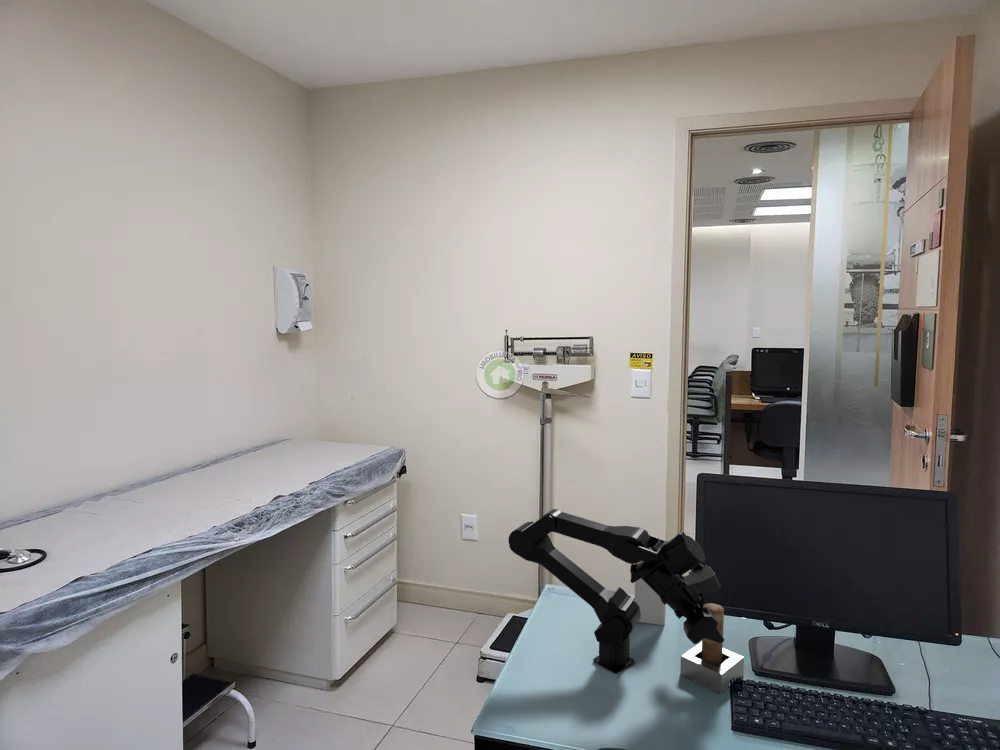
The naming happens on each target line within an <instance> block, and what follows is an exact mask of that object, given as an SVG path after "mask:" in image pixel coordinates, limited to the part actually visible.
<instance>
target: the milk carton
mask: <svg viewBox="0 0 1000 750" xmlns="http://www.w3.org/2000/svg"><path fill="white" fill-rule="evenodd" d="M650 550H651V549H650ZM641 562H642V561H640V562H638V563H636V564H639V563H641ZM634 598H635V600H634V601H635V602H636V603H637V604H638V605H639V607H640V612H641V618H640V620H639V622H638V623H644V624H651V625H658V626H659V625H660V626H665V625H666V624H665V623H666V613H667V604H666V605H665V604H664V603H663V602H662V601H661V599H660V597H659V596H658V595H657V594H656V593H655V592H654V591H653V590H652V589H651V588H650V587H649V586H648V585H647V584H646V583H645V582H644V581H643V580H642V579H639V580H637V581H636V582H634Z"/></svg>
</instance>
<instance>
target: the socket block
mask: <svg viewBox="0 0 1000 750" xmlns="http://www.w3.org/2000/svg"><path fill="white" fill-rule="evenodd" d="M701 658H702V641H700V642H699V643H698V644H695V646H693V647H692V648H690V649H688V650H687V651H686V652H685V653H683V654H682V655H680V672H679V673H680V675H681V676H683V677H685V678H687V679H690V680H691V681H694V682H695V683H698V684H699V685H702V686H704V687H706V688H708V689H710V690H711V691H715V692H716V693H718V694H721V695H722V694H723V693H724V692H725V691H727V690H728V689H729V688H730V687H729V683H730V680H731V679H732V678H740V679H741V678H743V676H744V669H745V667H744V666H745V665H744V663H745V657H744V656H742V655H741V654H738V653H736V652H733V651H730V650H729V649H726V648H725V647H723V650H722V664H721V665H719V666H718V667H717V666H715V665H713V664H710V663H708V662H706V661H704V660H701ZM728 687H729V688H728Z"/></svg>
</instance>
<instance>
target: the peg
mask: <svg viewBox="0 0 1000 750" xmlns="http://www.w3.org/2000/svg"><path fill="white" fill-rule="evenodd" d="M703 607H704V608H707V609H708V610H710V609H711V611H712V613H713V614H714V616H715V618H716V620H717V622H718V625H717V627H716V628H717V629H718V631H719V632H720V634H721V635H722V637H723V638H724V621H725V620H724V616H725V608H724V607H723V606H721V604H718V603H717V604H716V603H711V602H710V603H705V604H703ZM701 642H702V658H701V660H704V661H706V662H708V663H710V664H713V665H715V666H717V667H718V666H719V665H721V664H722V650H723V648H724V646H723V644H724V641H723V642H722V643H718V642H715V641H712V640H709V639H705V638H703V639H702V640H701Z"/></svg>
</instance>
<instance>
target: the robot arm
mask: <svg viewBox="0 0 1000 750" xmlns="http://www.w3.org/2000/svg"><path fill="white" fill-rule="evenodd" d="M550 533H556V534H559V535H562V536H565V537H568V538H572V539H575V540H578V541H581V542H583V543H584V542H585V543H587V544H590V545H594V546H597V547H601V548H603V549H605V550H606V551H607V552H609V553H610V555H612V556H613V557H615V558H616V559H619V560H620V561H623V562H624V563H626V564H630V569H629V572H630V583H632V584H635V582H636V581H637V580H639V579H642V580H643V581H644V582H645V583H646V584H647V585H648V586H649V587H650V588H651V589H652V590H653V591H654V592H655V593H656V594H657V595H658V596H659V597H660V599H661V601H662V602H663V603H664V604H665V605H666V606H667V605H668V607H669V608H670V609H672V610H673V612H674V615H675V616H676V618H678V619H679V620H680V619H681V618H685V619H686V620H684V622H683V624H682V625H683V631H684V633H685V635H686V637H687V639H688V640H689V641H690V642H691V643H692V644H693V645H697V644H699V643H700V642H702V639H703V638H705V639H709V640H712V641H715V642H718V643H722V642H723V643H724V642H725V638H724V636H723V637H722V635H721V634H720V632H719V631H718V629H717V628H716V627H717V625H718V622H717V620H716V618H715V616H714V614H713V613H712V611H711V609H710V610H708V609H707V608H704V607H703V606H704V597H705V595H709V594H710V593H714V592H718V591H720V590H721V588H722V587H721V584H720V582H719V580H718V577H717V575H716V573H715V572H714V570H713V569H712V568H711V566H708V565H707V564H705V565H703V564H702V563H704V562H705V561H706V555H705V551H704V550H703V548H702V546H701V545H700V544H699V542H698V541H697V540H695V539H694V538H692V537H691V536H689V535H686V533H685V532H684V531H680V532H678V533H676V535H675V536H674V537H673V538H671V539H669V540H668V541H667V540H666V539H663V538H661V537H657V536H656V535H655V536H654V535H652V534H649V531H647V530H646V529H645V528H642V527H639V526H629V525H616V526H614V525H608V524H604V523H601V522H597V521H595V520H590V519H588V518H584V517H581V516H577V515H573V514H571V513H567V512H564V511H561V510H560V509H558V508H557V509H556V508H554V509H551V510H549V511H548V512H546V513H545V514H544V515H543V516H542V517H540V518H539V519H537V520H536V521H526V522H523V524H522V525H520V526H519V527H516V528H515V529H514V530H513V531H511V533H510V534H509V536H508V545H509V546H508V547H509V549H510V550H511V551H512V553H514V554H515V555H517V556H519V558H522V559H524V560H525V561H527V562H530V563H533V564H534V563H535V564H539V565H540V566H542V567H543V568H544V569H545V570H547V571H548V572H549V573H551V574H552V575H553V576H554V577H555V578H556V579H558V580H559V582H561V583H562V584H564V585H565V586H566V587H567V588H569V590H571V592H573V593H574V594H575V595H577V596H578V597H580V599H582V600H583V601H584V602H585V603H587V604H588V605H589V606H590V607H591V608H592V609H593V611H594V613H595V615H596V617H597V618H598V620H599V622H600V624H599V625H598V626H597V627H596V628H595V630H594V631H593V632H594V637H595V639H596V642H598V656H597V655H596V657H594V658H593V659H592V662H593V663H595V664H596V665H598V666H601V667H603V668H604V669H606V670H608V671H610V672H611V673H614V674H616V675H617V674H620V673H621V672H623V671H624V670H626V669H627V668H629V667H630V666H631V665H634V664H635V662H636V661H635V659H634V658H633V657H630V635H631V633H632V632H633V631H634V629H635V628H636V626H637V624H638V623H640V622H639V620H640V618H641V612H640V607H639V605H638V604H637V603H636V602H635V601H634V600H635V596H631V595H629V594H628V593H627V592H626V591H625V590H624V589H623V588H621V587H617V588H616V590H611V589H608V588H606V587H605V586H604V585H602V584H601V583H599V581H597V580H596V579H595V578H594V577H592V576H590V575H589V574H588V572H586V571H584V569H582V568H581V567H580V566H579V565H577V564H576V563H575V562H574V561H572V560H571V559H570V558H569V557H567V556H566V555H565V554H563V552H561V551H560V550H559V549H557V548H556V547H555V546H554V544H553V542H552V540H551V538H550V536H549V534H550ZM650 549H651V550H650ZM640 561H642V562H641V563H639V564H636V563H638V562H640ZM695 567H696V569H695ZM686 573H688V574H687V575H684V574H686Z"/></svg>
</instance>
